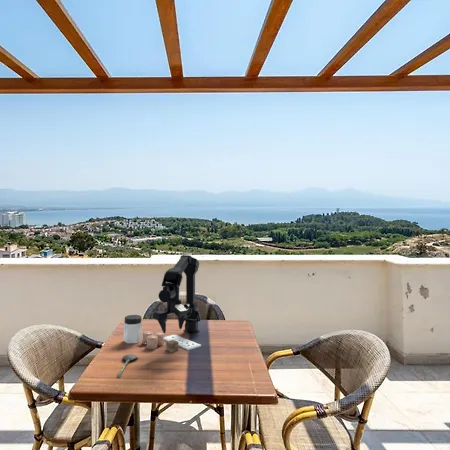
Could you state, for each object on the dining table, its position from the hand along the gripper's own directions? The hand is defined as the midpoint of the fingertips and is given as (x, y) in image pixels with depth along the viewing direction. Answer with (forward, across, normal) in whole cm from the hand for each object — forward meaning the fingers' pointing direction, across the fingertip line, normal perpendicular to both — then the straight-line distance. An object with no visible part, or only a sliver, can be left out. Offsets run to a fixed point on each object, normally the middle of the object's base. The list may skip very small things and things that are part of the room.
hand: (172, 330), depth 176 cm
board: (+9, +9, +5) cm, 14 cm away
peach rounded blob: (+9, -5, +9) cm, 14 cm away
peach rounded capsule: (+9, 0, +11) cm, 14 cm away
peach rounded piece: (+9, -3, +16) cm, 19 cm away
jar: (+9, -7, +23) cm, 26 cm away
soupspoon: (+10, -25, -2) cm, 27 cm away
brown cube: (+9, 0, 0) cm, 9 cm away
